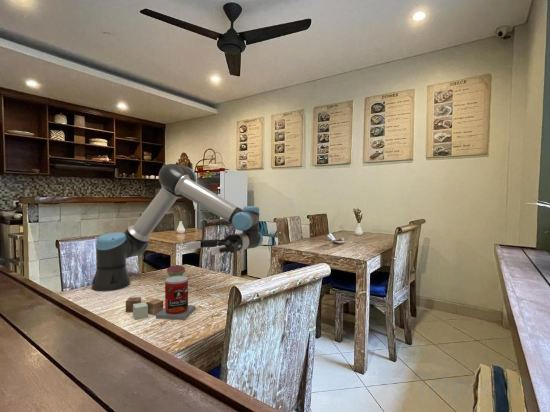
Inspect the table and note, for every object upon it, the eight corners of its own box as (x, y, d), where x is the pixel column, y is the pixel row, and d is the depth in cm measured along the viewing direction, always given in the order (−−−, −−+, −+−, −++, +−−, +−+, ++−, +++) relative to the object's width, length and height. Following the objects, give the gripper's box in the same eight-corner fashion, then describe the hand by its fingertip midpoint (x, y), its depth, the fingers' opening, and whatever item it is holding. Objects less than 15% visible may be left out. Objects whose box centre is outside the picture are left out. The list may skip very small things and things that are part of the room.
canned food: (166, 315, 99) (166, 283, 99) (163, 307, 106) (163, 277, 106) (190, 311, 103) (190, 280, 102) (185, 304, 110) (185, 274, 109)
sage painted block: (135, 319, 99) (135, 308, 99) (133, 315, 102) (132, 304, 102) (147, 317, 101) (147, 305, 101) (145, 313, 104) (145, 302, 104)
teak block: (146, 313, 104) (145, 302, 104) (155, 309, 108) (155, 298, 108) (154, 315, 103) (154, 304, 102) (163, 311, 106) (163, 300, 106)
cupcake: (181, 282, 142) (181, 257, 141) (163, 281, 142) (163, 256, 141) (187, 277, 150) (187, 253, 150) (170, 277, 150) (170, 253, 150)
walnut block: (125, 312, 105) (125, 301, 105) (129, 308, 109) (129, 297, 109) (137, 312, 105) (137, 300, 105) (140, 307, 109) (140, 297, 109)
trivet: (155, 318, 100) (155, 314, 100) (169, 307, 110) (169, 304, 110) (184, 319, 99) (184, 316, 99) (195, 308, 109) (195, 305, 109)
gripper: (259, 255, 123) (223, 263, 105) (215, 247, 137) (177, 254, 119) (259, 237, 123) (223, 242, 105) (216, 231, 137) (177, 235, 119)
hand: (199, 248), depth 112 cm, fingers open, 13 cm apart
